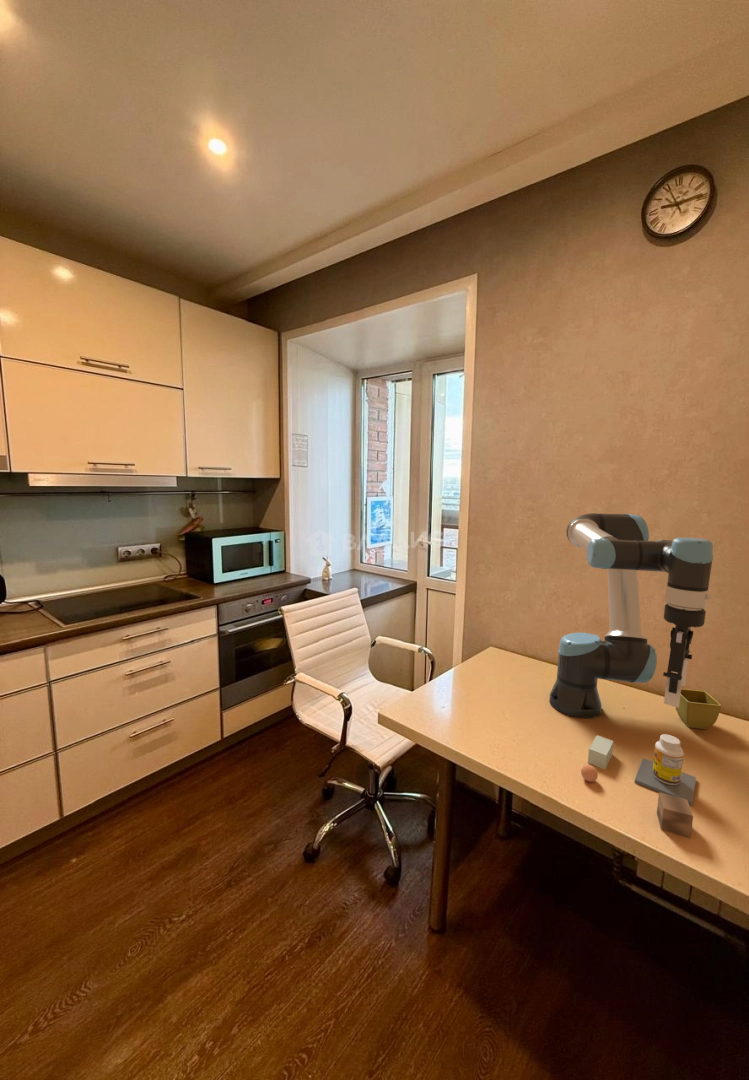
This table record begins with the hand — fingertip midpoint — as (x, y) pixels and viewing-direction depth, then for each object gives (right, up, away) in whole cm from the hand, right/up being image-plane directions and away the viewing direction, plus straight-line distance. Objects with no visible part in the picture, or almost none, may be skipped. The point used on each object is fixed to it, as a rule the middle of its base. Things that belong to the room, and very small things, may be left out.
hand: (674, 694), depth 99 cm
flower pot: (+25, -20, +28) cm, 42 cm away
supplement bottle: (0, -21, +2) cm, 22 cm away
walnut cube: (-8, -24, -11) cm, 27 cm away
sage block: (-12, -21, +11) cm, 26 cm away
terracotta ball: (-19, -20, +2) cm, 27 cm away
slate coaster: (0, -22, +3) cm, 22 cm away
